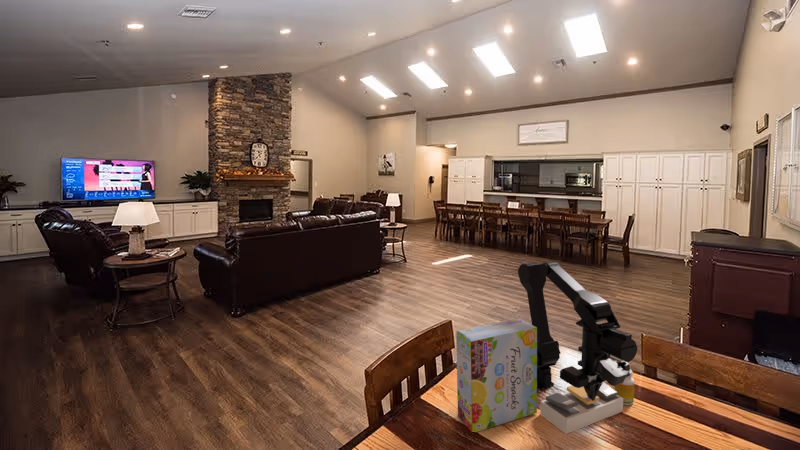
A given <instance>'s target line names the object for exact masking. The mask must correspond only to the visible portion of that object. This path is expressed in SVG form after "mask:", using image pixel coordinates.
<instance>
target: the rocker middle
mask: <svg viewBox="0 0 800 450" xmlns="http://www.w3.org/2000/svg"><path fill="white" fill-rule="evenodd" d="M566 391H567V392H570V393H571V394H573V395H574V396H576V397H577V398H578V399H580V400H581V401H583V402H584V403H586V404H587V405H588V404H591V403H594V402H597V401H599V397H598V396H596V398H595V400H594V401H592V399H590V398H589V397H588V396H587V394H586V391H585V389H584V387H581V388H576V387H574V386H572V385H569V386H567V387H566Z"/></svg>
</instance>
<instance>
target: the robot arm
mask: <svg viewBox="0 0 800 450" xmlns="http://www.w3.org/2000/svg"><path fill="white" fill-rule="evenodd" d="M517 274H518V279H519V282H520V284H521V286H522V287H523V288H524V290H525V291H526V295H527V301H528V306H529V307H528V309H529V314H530V319H531V320H530V321H531V325H533V326H535V327H537V390H543V389H546V388H550V387H553V386H555V383H554V381H552V377H553V376H552V367H553V366H556V365H557V362H558V361H559V360H560V358H561V357H560V354H562V353H561V350H560V344H559V341H558V340H555V339H554V337H552V335H551V334H550V333H551V332H550V331H551V330H550V325H549V320H548V315H547V308H546V302H545V294H544V287H545V286H546V282H547V279H549V281H550V282H552V283H553V284H554V286H556V288H557V289H559V290H560V292H562V293H563V294H564V295H565V296H566V297H567V298H568V299H569V300H570V301H571V303H572V304H573V310H574V312H576V314H577V315H578V317H579V318H580V319H579V320H577V321H576V322H575V325H577V326H579V327H582V329H581V330H582V333H581V334H582V335H581V336H582V337H581V346H578V347H577V351H578V352H581V360H580V359H579V360H578V361H577V365H578V366H579V367H581V368H579V369H578V368H576V367H574V366H572V365H571V366H567V367H563V368H561V369H560V370H559V379H561V380H563V381H564V382H566V383H567V384H569V385H570V386H574V387H576V388H581V387H584V389H585V391H586V394H587V396H588V397H589V398H590V399H592V401H594V400H595V398H596V396H597V394H598V391H599V389H600V387H601V385H602V383H603V382H604V383H607V384H608V385H609V386H612V387H613V386H616V385H617V384H620V383H621V384H622V383H623V382H624V380H625V378H626V377H628V376H630V374H629V371H630V369H631V368H630V363H629V362H632V361H633V360H634V359H635V357H637V353H638V345H637V343H636V341H635V340H634V339H633V338H632V337H633V335H632V334H631V333H629V332H626V331H625V332H624V331H621V330H619V329H620V328H621V325H620V323H619V322H618V320H617V318H616V315H615V313H614V312H613V310H612V306H611V305H610V303H609V302H608V301H607V300H606V299H604V298H603V297H601V296H600V295H598V294H597V293H593V292H591V291H588V290H587V289H585V288H584V287H583V286H582V285H581V284H579V282H578V281H576V280H575V279H574V278H573V277H572V276H571V275H570V274H569V273H567V271H565V270H564V269H563V268H562V267H561V265H560V263H559V262H557V261H554V260H553V261H547V262H540V261H535V262H526V263H521V264H520V266H519V267H518V268H517ZM605 321H607V322H605ZM599 322H603V323H599ZM614 357H615V358H614Z"/></svg>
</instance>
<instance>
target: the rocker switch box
mask: <svg viewBox="0 0 800 450" xmlns="http://www.w3.org/2000/svg"><path fill="white" fill-rule="evenodd" d="M560 394H561V395H564V396H566V397H568V398H570V399H573V400H575V401H577V402H578V406H576V407H573V408H570V409H567V410H565V409H563V408H561V407H559V406H557V405H555V404H553V403H551V402H549V401H547V400H546V399H543V400H540V409H539V410H540V411H539V414H540V415H541V416H542V417H543V418H545V420H547V421H548V422H550V423H551V424H553V425H554V426H555V427H556V428H558V429H559V430H560V431H561V432H563V433H564V434H566V435H568V434H569V433H572V432H574V431H577V430H580V429H581V428H584V427H588V426H590V425H592V424H595V423H597V422H600V421H601V420H602V421H603V420H604V419H607V418H610V417H612V416H615V415H617V414H620V413H622V412H623V409H624V405H623V398H622V397H620V396H618V395H615V396H613V397H610V398H607V399H606V398H604V397H603V396H602V395H600V394H599V393H598V394H597V396H598V397H599V401H597V402H594V403H591V404H588V405H587V404H586V403H584V402H583V401H581V400H580V399H578V398H577V397H576V396H574V395H573V394H571V393H570V392H568V391H567V392H564V393H560Z"/></svg>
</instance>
